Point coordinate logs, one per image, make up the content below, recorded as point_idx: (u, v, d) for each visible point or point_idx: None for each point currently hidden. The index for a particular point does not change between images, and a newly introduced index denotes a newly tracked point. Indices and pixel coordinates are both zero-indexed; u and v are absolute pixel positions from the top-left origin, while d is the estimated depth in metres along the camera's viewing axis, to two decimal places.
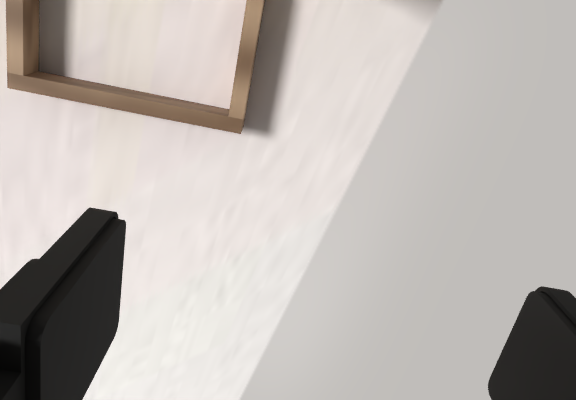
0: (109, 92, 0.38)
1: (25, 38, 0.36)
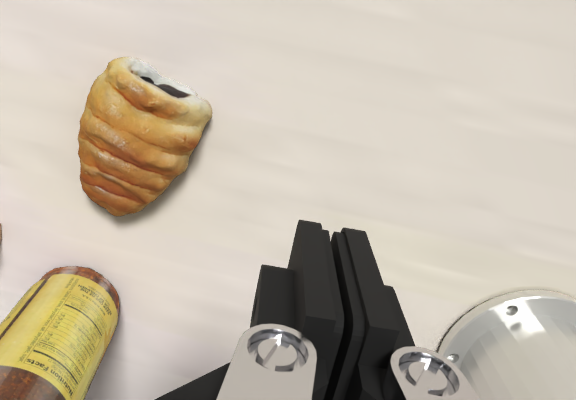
0: None
1: None
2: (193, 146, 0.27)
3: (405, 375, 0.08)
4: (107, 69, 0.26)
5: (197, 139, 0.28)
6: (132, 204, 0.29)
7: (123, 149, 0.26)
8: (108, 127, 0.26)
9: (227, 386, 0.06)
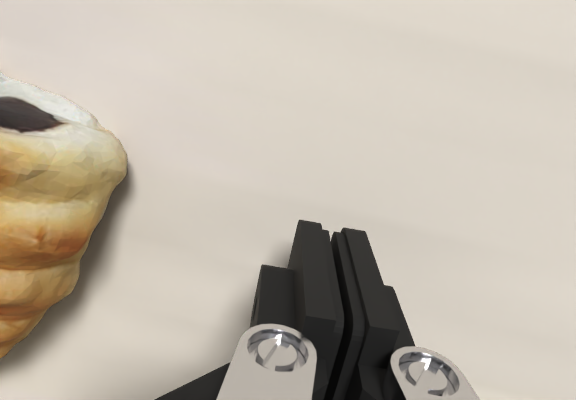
0: None
1: None
2: (72, 250, 0.11)
3: (405, 375, 0.08)
4: None
5: (83, 231, 0.11)
6: None
7: None
8: None
9: (227, 386, 0.06)
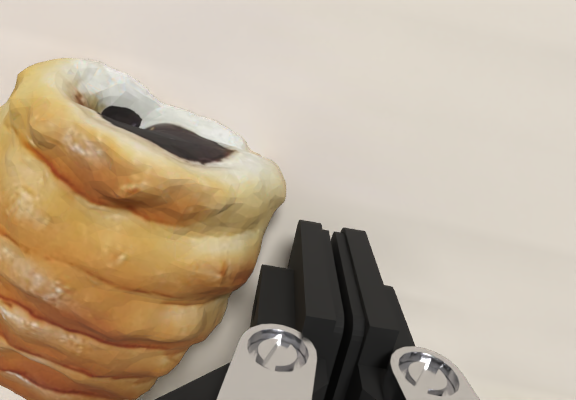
0: None
1: None
2: (243, 282, 0.11)
3: (405, 375, 0.08)
4: (15, 92, 0.10)
5: (253, 262, 0.11)
6: None
7: (60, 305, 0.10)
8: (15, 251, 0.09)
9: (227, 386, 0.06)
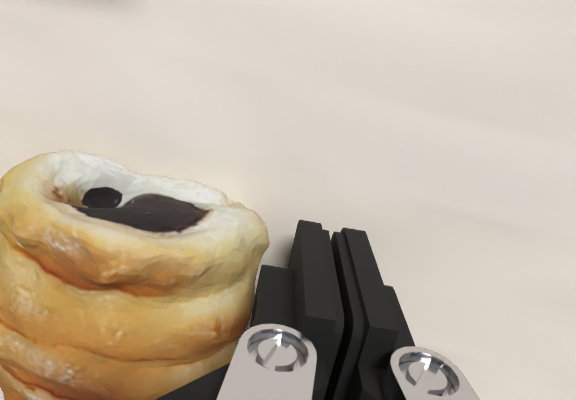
0: None
1: None
2: (241, 331, 0.11)
3: (405, 375, 0.08)
4: None
5: (247, 311, 0.11)
6: None
7: (75, 384, 0.11)
8: (25, 342, 0.10)
9: (227, 386, 0.06)
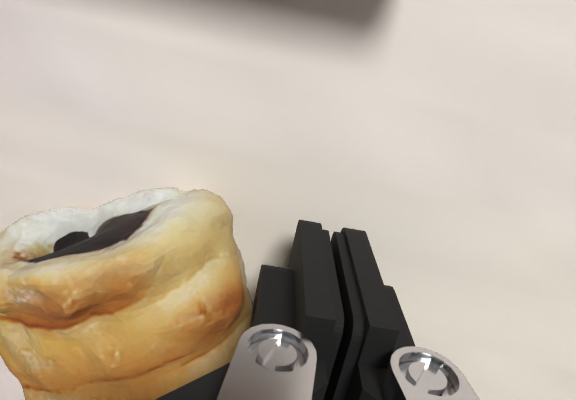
0: None
1: None
2: (237, 304, 0.11)
3: (405, 375, 0.08)
4: None
5: (234, 283, 0.11)
6: None
7: None
8: (53, 396, 0.11)
9: (227, 386, 0.06)
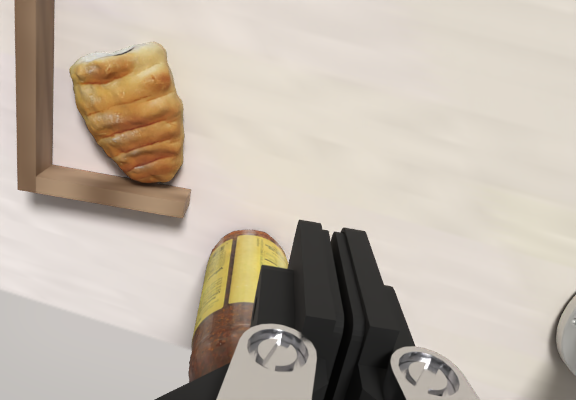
0: (36, 29, 0.29)
1: None
2: (167, 80, 0.30)
3: (405, 375, 0.08)
4: None
5: (165, 73, 0.30)
6: (168, 161, 0.32)
7: (121, 121, 0.30)
8: (100, 114, 0.30)
9: (227, 386, 0.06)
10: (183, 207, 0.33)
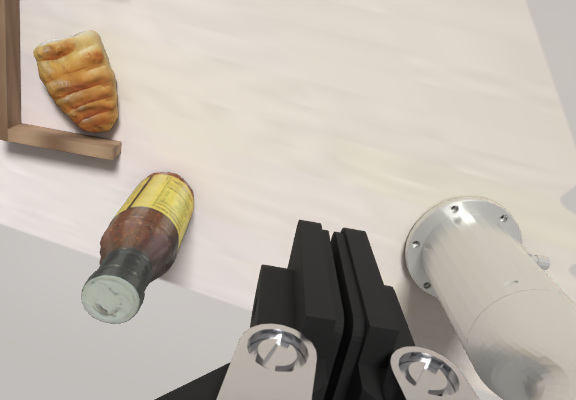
0: (5, 25, 0.42)
1: None
2: (99, 56, 0.43)
3: (405, 375, 0.08)
4: None
5: (98, 51, 0.43)
6: (106, 115, 0.46)
7: (69, 85, 0.43)
8: (54, 81, 0.43)
9: (227, 386, 0.06)
10: (112, 152, 0.47)
